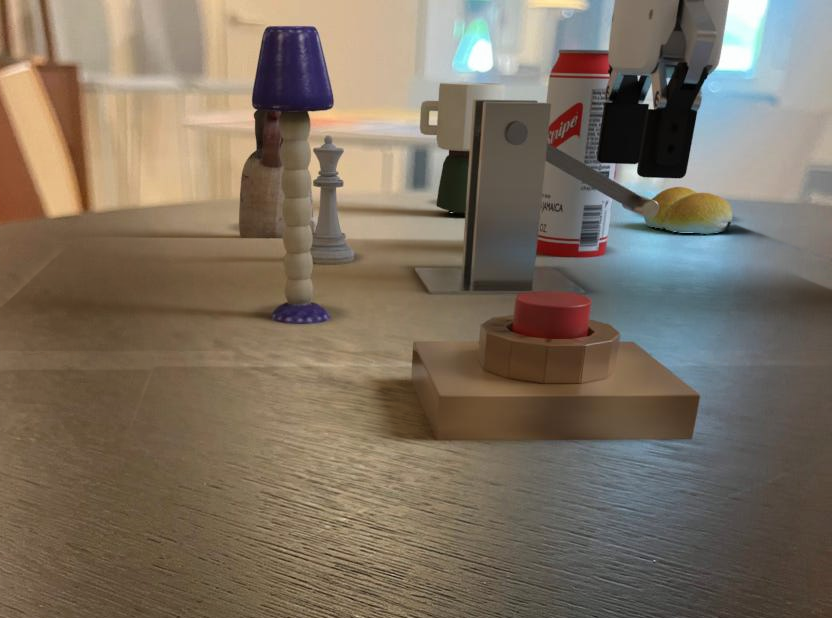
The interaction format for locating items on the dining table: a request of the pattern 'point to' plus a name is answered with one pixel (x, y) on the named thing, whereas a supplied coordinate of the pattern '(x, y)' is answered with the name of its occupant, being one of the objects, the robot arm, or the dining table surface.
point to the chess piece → (329, 210)
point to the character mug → (455, 135)
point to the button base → (549, 388)
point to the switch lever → (602, 183)
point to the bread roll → (690, 211)
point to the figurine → (264, 183)
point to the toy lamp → (294, 150)
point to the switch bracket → (502, 205)
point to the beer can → (578, 137)
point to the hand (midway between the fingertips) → (637, 169)
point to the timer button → (551, 315)
